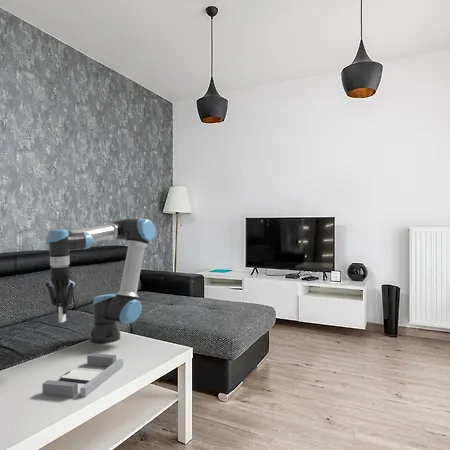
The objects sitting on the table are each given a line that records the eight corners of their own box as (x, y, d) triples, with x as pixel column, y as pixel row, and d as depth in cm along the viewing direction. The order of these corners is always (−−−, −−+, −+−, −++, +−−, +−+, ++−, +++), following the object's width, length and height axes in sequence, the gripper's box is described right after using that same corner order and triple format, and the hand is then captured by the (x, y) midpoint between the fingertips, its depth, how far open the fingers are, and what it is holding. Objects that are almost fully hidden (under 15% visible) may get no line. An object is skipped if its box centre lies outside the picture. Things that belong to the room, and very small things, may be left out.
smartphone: (108, 376, 149) (72, 372, 153) (108, 372, 149) (72, 368, 153) (95, 386, 141) (58, 381, 144) (95, 381, 141) (58, 377, 144)
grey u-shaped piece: (91, 362, 163) (91, 353, 163) (124, 365, 159) (124, 355, 159) (42, 394, 132) (42, 383, 132) (83, 398, 129) (82, 387, 129)
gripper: (40, 267, 154) (42, 323, 155) (68, 267, 152) (71, 324, 153) (51, 264, 162) (54, 318, 163) (79, 264, 159) (81, 319, 160)
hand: (62, 321), depth 158 cm, fingers closed
